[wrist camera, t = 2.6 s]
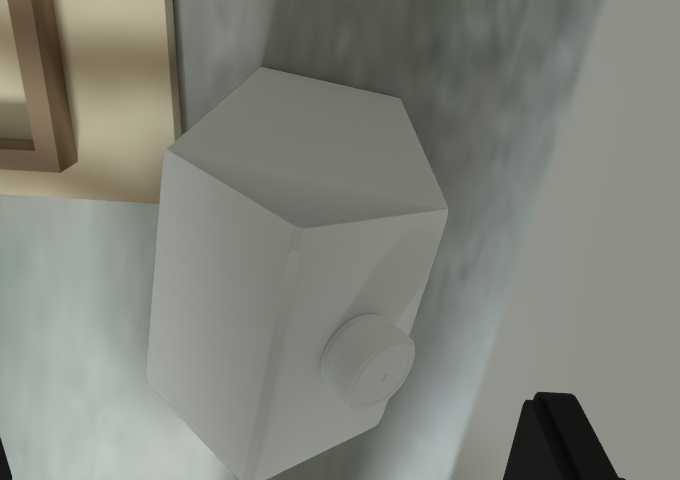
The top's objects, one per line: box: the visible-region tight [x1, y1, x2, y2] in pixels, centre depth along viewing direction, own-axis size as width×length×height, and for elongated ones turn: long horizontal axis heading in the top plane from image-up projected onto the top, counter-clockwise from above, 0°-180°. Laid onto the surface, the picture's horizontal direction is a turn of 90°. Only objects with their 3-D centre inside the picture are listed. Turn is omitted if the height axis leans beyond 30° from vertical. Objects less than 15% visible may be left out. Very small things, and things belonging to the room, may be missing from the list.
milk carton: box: [146, 67, 448, 480], centre depth 19 cm, size 7×7×19 cm
